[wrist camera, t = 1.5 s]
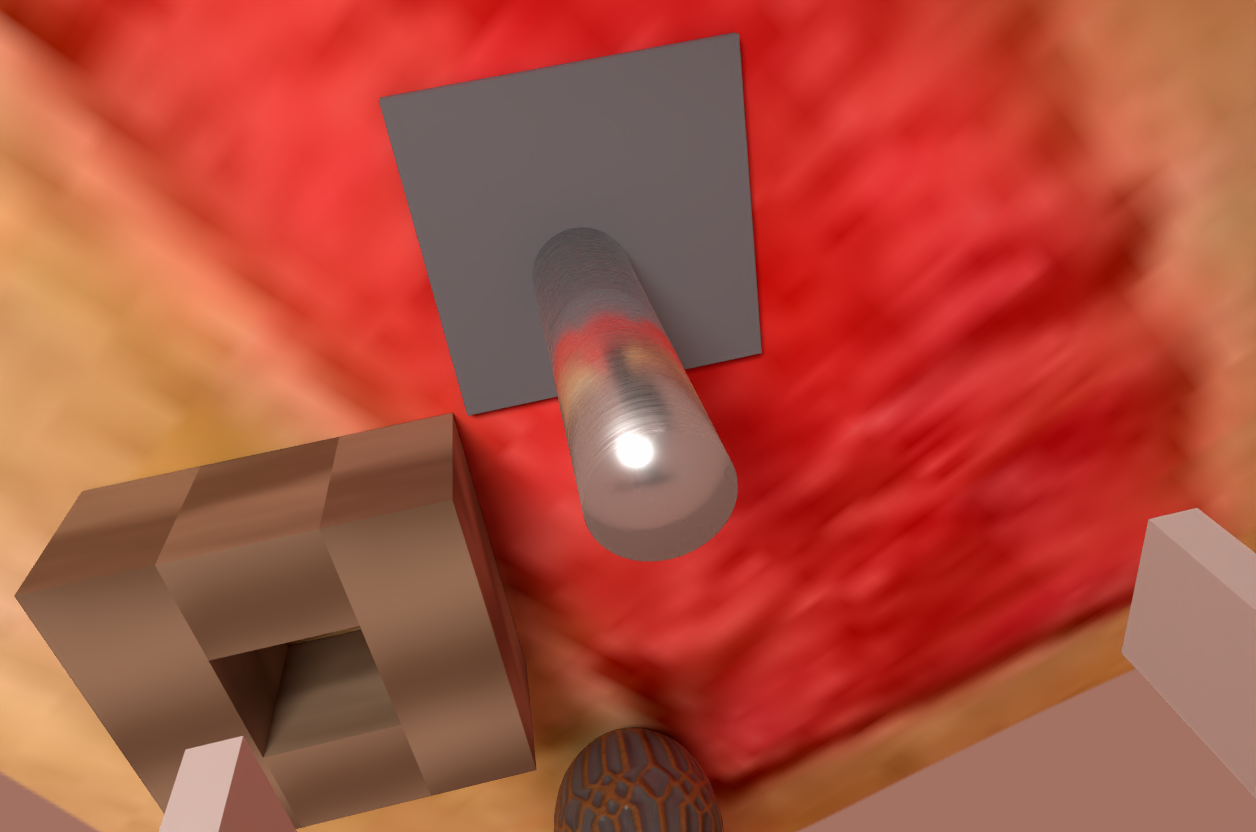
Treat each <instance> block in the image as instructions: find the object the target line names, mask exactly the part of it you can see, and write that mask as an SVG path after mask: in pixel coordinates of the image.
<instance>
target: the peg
mask: <svg viewBox="0 0 1256 832" xmlns="http://www.w3.org/2000/svg"><path fill="white" fill-rule="evenodd" d="M532 275H533V285H534V290H535V294H536V299H537V304H538V308H539V313H540V317H541V322H542V327H543V331H544V336H545V340H546V345H547V350H548V354H549V359H550V363H551V368H552V373H553V377H554V382H555V386H556V391H557V396H558V400H559V405H560V409H561V414H562V419H563V423H564V428H565V432H566V437H567V442H568V446H569V451H570V455H571V460H572V465H573V469H574V474H575V478H576V483H577V488H578V492H579V497H580V501H581V506H582V511H583V515H584V519H585V522H586V525H587V527H588V529H589V531H590V533H591V534H592V535H593V537H594V538H595V539H596V540H597V541H598V542H599V543H600V544H601V545H602V546H603V547H604V548H606V549H607V550H609V551H610V552H612V553H614V554H616V555H619V556H621V557H624V558H627V559H631V560H637V561H662V560H668V559H672V558H676V557H680V556H682V555H685V554H687V553H690V552H692V551H694V550H695V549H697V548H699V547H701V546H702V545H704V544H705V543H707V542H708V541H709V540H710V539H712V538H713V537H714V536H715V535H716V534H717V533H718V532H719V531H720V530H721V529H722V527H723V526H724V525H725V523H726V522H727V520H728V519H729V517H730V515H731V513H732V511H733V509H734V506H735V503H736V499H737V493H738V480H737V475H736V471H735V468H734V466H733V464H732V462H731V460H730V458H729V456H728V454H727V452H726V450H725V448H724V446H723V444H722V442H721V440H720V438H719V436H718V434H717V432H716V430H715V428H714V426H713V424H712V422H711V421H710V419H709V417H708V415H707V413H706V411H705V409H704V407H703V405H702V403H701V401H700V399H699V397H698V395H697V393H696V391H695V389H694V387H693V385H692V383H691V381H690V379H689V377H688V375H687V374H686V372H685V370H684V368H683V366H682V364H681V362H680V360H679V358H678V356H677V354H676V352H675V350H674V348H673V346H672V344H671V342H670V340H669V338H668V336H667V334H666V332H665V330H664V328H663V326H662V325H661V323H660V321H659V319H658V317H657V315H656V313H655V311H654V309H653V307H652V305H651V303H650V301H649V299H648V297H647V295H646V293H645V291H644V289H643V287H642V285H641V283H640V281H639V279H638V278H637V276H636V274H635V272H634V270H633V268H632V266H631V264H630V262H629V260H628V258H627V256H626V254H625V252H624V250H623V248H622V247H621V246H620V244H619V243H618V242H617V241H616V240H615V239H614V238H612V237H611V236H610V235H608V234H606V233H605V232H602V231H600V230H597V229H593V228H586V227H579V228H572V229H568V230H565V231H563V232H560V233H559V234H557V235H555V236H554V237H552V238H551V239H550V240H548V241H547V242H546V243H545V244H544V246H543V247H542V248H541V250H540V251H539V253H538V255H537V257H536V259H535V262H534V266H533V272H532Z"/></svg>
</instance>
